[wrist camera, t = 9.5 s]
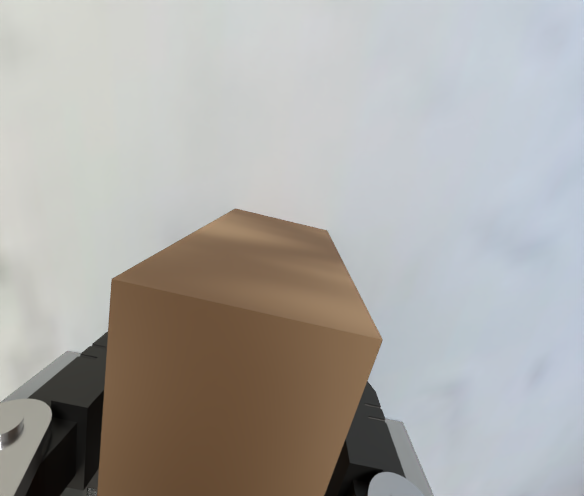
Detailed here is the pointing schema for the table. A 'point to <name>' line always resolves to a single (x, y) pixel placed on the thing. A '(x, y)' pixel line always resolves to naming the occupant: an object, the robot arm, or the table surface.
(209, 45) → the table surface
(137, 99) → the table surface
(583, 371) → the table surface
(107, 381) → the scraper
